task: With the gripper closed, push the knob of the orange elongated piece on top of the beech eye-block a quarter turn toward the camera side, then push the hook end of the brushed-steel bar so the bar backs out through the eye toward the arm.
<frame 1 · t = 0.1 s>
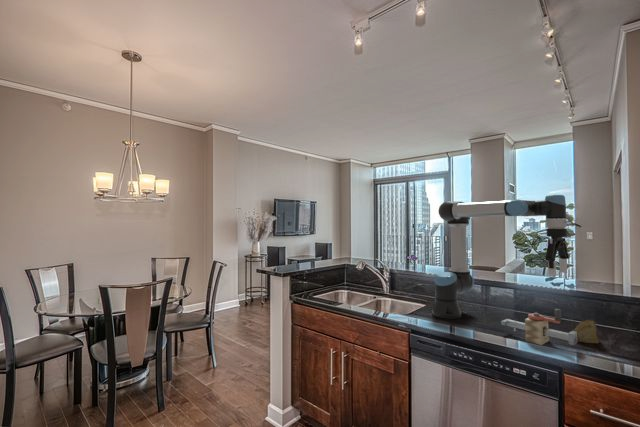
hand: (558, 274, 144), 28 cm above the countertop, fingers open, 13 cm apart
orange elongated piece: (544, 313, 135), point 13 cm above the countertop, hinge at 0.0°
eye block: (537, 340, 137), on the countertop
hook bar: (536, 329, 137), point 5 cm above the countertop, slide at 0.0 cm
rock: (584, 341, 136), on the countertop
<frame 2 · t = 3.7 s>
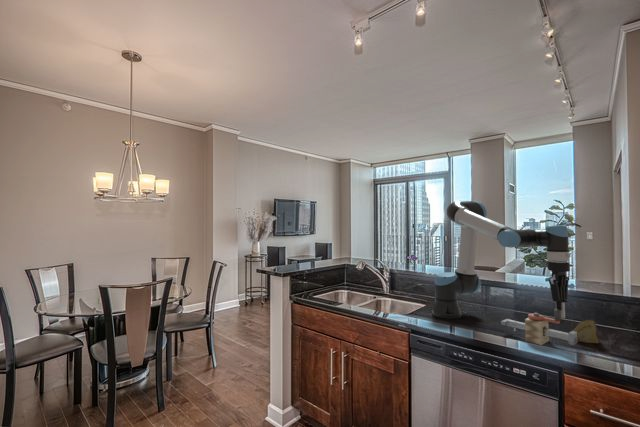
hand: (560, 317, 132), 12 cm above the countertop, fingers closed
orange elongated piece: (544, 313, 135), point 13 cm above the countertop, hinge at -3.3°, touching gripper
everything else where it was.
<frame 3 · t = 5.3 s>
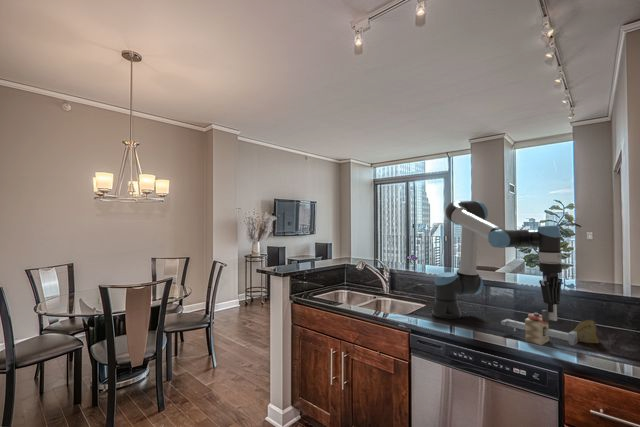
hand: (552, 319, 129), 12 cm above the countertop, fingers closed
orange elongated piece: (539, 313, 134), point 13 cm above the countertop, hinge at -47.3°, touching gripper
everything else where it was.
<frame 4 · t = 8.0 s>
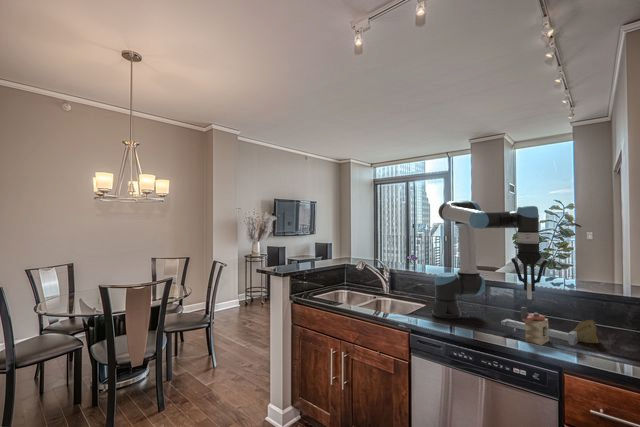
hand: (529, 298, 131), 20 cm above the countertop, fingers closed
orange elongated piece: (531, 312, 136), point 13 cm above the countertop, hinge at -102.3°
everything else where it was.
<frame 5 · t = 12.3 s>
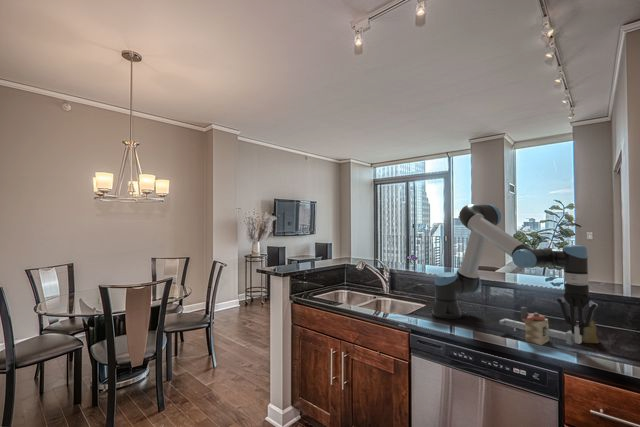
hand: (578, 342, 125), 4 cm above the countertop, fingers closed
hook bar: (534, 328, 138), point 5 cm above the countertop, slide at 0.9 cm, touching gripper
everything else where it was.
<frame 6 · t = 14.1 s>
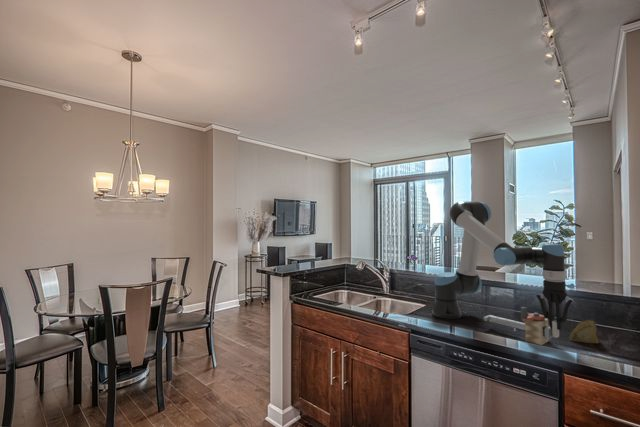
hand: (556, 336, 131), 4 cm above the countertop, fingers closed
hook bar: (516, 324, 144), point 5 cm above the countertop, slide at 8.2 cm
everything else where it was.
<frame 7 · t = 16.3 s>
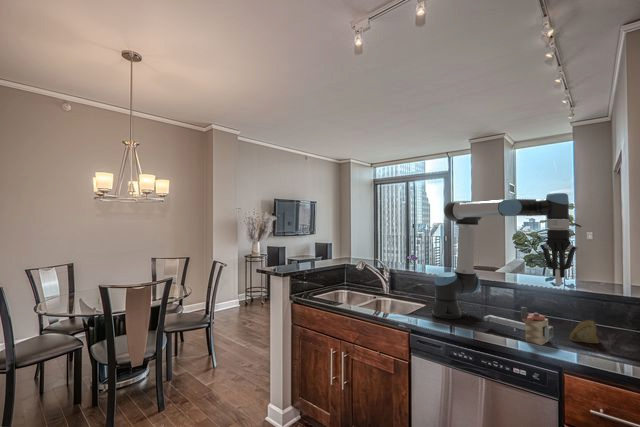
hand: (558, 284, 133), 25 cm above the countertop, fingers closed
nothing on the countertop moved.
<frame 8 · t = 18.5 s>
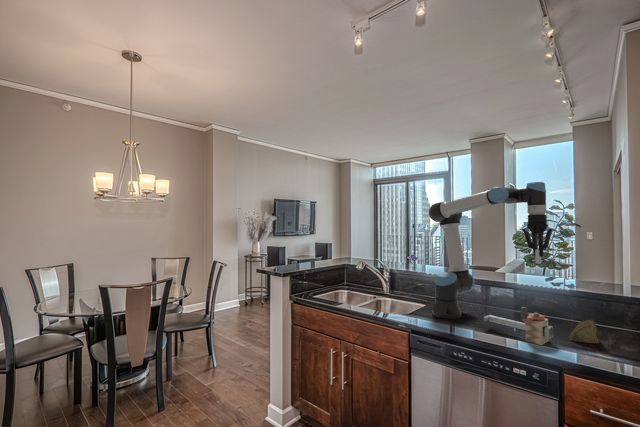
hand: (538, 263, 150), 32 cm above the countertop, fingers closed
nothing on the countertop moved.
at the end: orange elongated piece at -102° (first picture: +0°); hook bar slide at 8.2 cm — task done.
